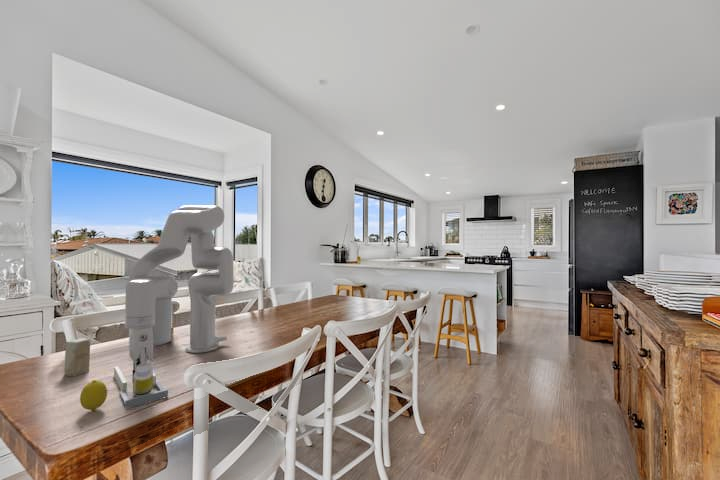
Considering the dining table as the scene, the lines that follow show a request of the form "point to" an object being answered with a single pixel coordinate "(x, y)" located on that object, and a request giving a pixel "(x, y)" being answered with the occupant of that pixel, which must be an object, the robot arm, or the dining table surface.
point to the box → (77, 356)
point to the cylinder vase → (162, 322)
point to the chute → (122, 381)
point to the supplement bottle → (142, 380)
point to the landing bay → (144, 396)
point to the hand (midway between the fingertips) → (139, 382)
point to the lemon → (93, 395)
